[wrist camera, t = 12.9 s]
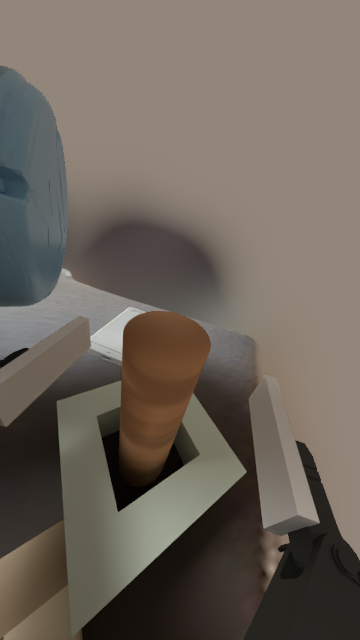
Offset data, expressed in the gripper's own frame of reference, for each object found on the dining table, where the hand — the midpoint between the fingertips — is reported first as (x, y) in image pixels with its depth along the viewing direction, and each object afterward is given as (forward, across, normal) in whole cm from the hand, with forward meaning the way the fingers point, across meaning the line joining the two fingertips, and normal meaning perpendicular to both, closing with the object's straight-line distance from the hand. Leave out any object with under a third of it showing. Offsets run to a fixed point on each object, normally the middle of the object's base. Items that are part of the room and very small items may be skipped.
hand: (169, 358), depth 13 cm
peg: (-3, 0, -10) cm, 10 cm away
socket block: (-3, 0, -10) cm, 10 cm away
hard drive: (+12, -8, -10) cm, 18 cm away
